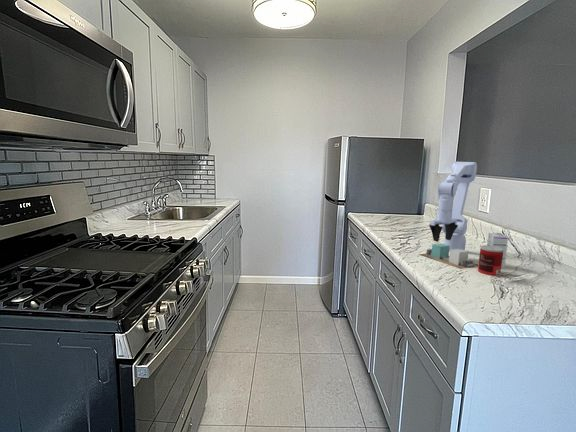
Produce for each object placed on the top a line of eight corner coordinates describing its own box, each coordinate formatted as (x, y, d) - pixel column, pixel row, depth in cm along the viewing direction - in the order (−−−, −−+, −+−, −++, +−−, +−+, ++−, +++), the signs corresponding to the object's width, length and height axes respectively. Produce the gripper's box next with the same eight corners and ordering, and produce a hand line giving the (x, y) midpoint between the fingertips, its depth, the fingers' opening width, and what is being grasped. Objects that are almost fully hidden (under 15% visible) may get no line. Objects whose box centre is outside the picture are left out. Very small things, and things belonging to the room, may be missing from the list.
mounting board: (436, 254, 161) (437, 251, 161) (480, 268, 142) (480, 265, 142) (417, 256, 156) (418, 254, 156) (460, 271, 137) (460, 268, 137)
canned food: (497, 273, 136) (500, 246, 134) (502, 279, 129) (506, 251, 127) (475, 270, 138) (478, 244, 137) (479, 277, 131) (482, 249, 129)
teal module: (439, 255, 156) (441, 243, 155) (448, 257, 152) (449, 245, 151) (431, 256, 153) (432, 244, 153) (439, 259, 149) (440, 246, 149)
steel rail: (432, 252, 159) (432, 248, 159) (473, 266, 141) (473, 261, 140) (425, 253, 157) (425, 249, 157) (466, 267, 139) (466, 262, 138)
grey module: (457, 260, 148) (459, 248, 147) (467, 263, 144) (468, 251, 143) (448, 262, 145) (450, 249, 144) (458, 265, 141) (459, 252, 140)
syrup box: (504, 270, 139) (509, 236, 137) (488, 269, 141) (493, 235, 138) (499, 266, 145) (503, 233, 142) (483, 265, 146) (488, 232, 144)
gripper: (449, 208, 156) (445, 237, 158) (425, 209, 149) (422, 239, 152) (462, 210, 149) (459, 240, 152) (439, 211, 143) (435, 243, 145)
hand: (442, 240), depth 151 cm, fingers open, 7 cm apart
